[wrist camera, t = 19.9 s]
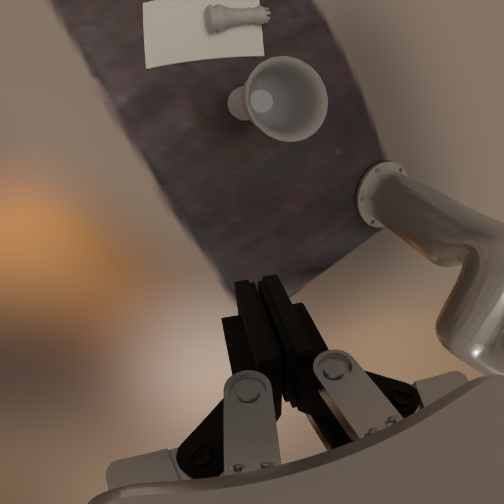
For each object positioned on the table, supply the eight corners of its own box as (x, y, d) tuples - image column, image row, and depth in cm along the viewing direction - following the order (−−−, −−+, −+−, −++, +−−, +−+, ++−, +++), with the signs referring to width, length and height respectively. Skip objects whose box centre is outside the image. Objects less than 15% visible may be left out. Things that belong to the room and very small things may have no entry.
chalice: (212, 89, 33) (230, 71, 17) (258, 72, 33) (309, 47, 17) (233, 135, 37) (265, 154, 21) (277, 117, 36) (338, 127, 21)
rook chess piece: (204, 29, 28) (260, 24, 30) (211, 37, 26) (272, 32, 28) (203, 2, 24) (261, -1, 26) (210, 7, 22) (274, 4, 24)
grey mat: (257, -7, 26) (258, -8, 26) (263, 56, 32) (264, 55, 31) (143, 4, 24) (142, 3, 23) (146, 69, 29) (146, 68, 29)
